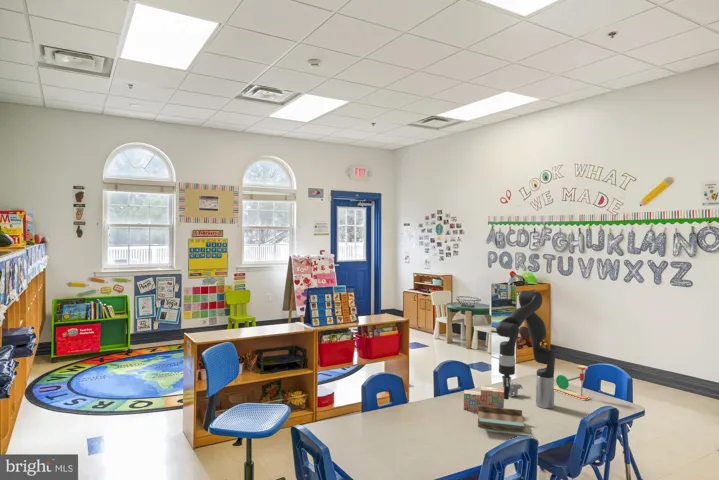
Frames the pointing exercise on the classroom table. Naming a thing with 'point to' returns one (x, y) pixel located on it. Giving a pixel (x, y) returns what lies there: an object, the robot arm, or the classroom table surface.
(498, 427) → the cart bed
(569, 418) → the classroom table surface
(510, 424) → the tailgate
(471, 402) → the stack of blocks
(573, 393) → the crank mechanism
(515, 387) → the gray elephant figurine
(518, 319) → the robot arm
